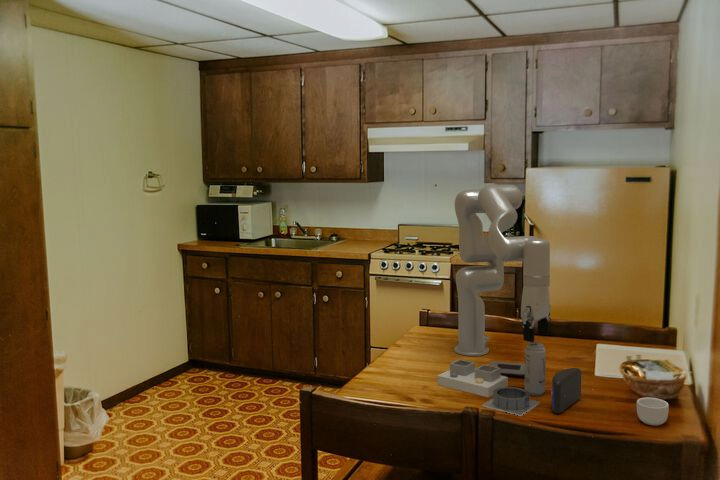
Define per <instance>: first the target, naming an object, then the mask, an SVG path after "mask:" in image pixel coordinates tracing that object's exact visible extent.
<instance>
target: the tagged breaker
mask: <svg viewBox="0 0 720 480" xmlns="http://www.w3.org/2000/svg"><path fill="white" fill-rule="evenodd" d="M495 369H496V368H491V367H487V366H484V367H482V368H480V369H479V370H484V371H488V372H492V371H493V370H495Z"/></svg>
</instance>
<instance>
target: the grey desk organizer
mask: <svg viewBox="0 0 720 480" xmlns="http://www.w3.org/2000/svg"><path fill="white" fill-rule="evenodd" d="M484 366H487V367H491V368H496V369H495V370H493V371H492V372H488V371H484V370H479V369H480V368H482V367H484ZM508 383H509V377H508V376H506V375H501V368H498V366H494V365H489V364H482V365H480V366H478V367H476V362H474V361H469V360H465V359H457V360H454V361H452V362H450V363H449V370H446V371H445V372H443V373H440V374H438V375H437V385H438V386H441V387H445V388H449V389H453V390H457V391H460V392H465V393H467V394H468V393H469V394H473V395H476V396H480V397H485V398H490V397H493V391H494V390H495V389H497V388H502V387H509V385H508Z"/></svg>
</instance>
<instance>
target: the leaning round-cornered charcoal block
mask: <svg viewBox="0 0 720 480" xmlns="http://www.w3.org/2000/svg"><path fill="white" fill-rule="evenodd" d="M551 382H552V383H551V387H552V388H551V392H550V394H551V409H552V412H554V413H555V414H561V413H563V412H564V411H565V410H566V409H568V408H569V407H570V406H572V405H573V404H574V403H575V402H577V401H578V400H579V399H580V398H581V395H582V371H581V369H580V368H578V367H571V368H567V369H563V370H559V371H558V372H557V373H555V374H554V375H553V377H552V381H551Z"/></svg>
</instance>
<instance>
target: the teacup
mask: <svg viewBox="0 0 720 480" xmlns="http://www.w3.org/2000/svg"><path fill="white" fill-rule="evenodd" d="M669 407H670V405H669V403H668V402H667V401H665V400H664V399H660V398H657V397H641V398H638V399H637V400H636V414H637V417H638V418H639V420H640V421H641V422H643V424H646V425H649V426H657V427H658V426H660V425H663V424H664V423H665V422H666V421H667V420H668V415H669V409H670V408H669Z"/></svg>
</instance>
